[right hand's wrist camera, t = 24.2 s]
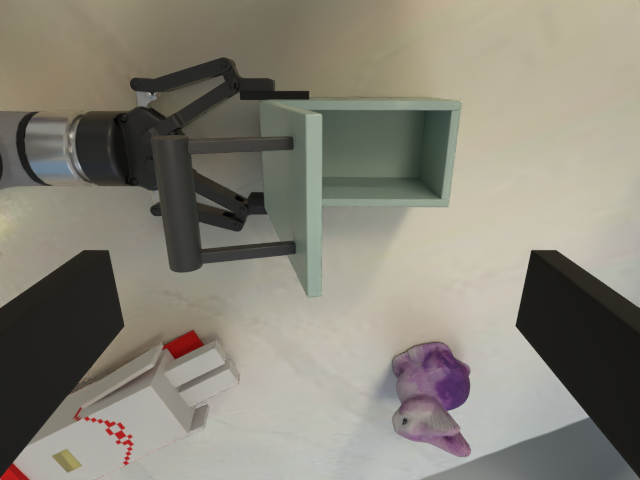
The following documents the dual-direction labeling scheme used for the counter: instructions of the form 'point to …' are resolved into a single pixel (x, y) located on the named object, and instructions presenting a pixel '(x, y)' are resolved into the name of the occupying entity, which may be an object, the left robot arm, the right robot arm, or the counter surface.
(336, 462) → the counter surface
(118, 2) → the counter surface
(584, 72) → the counter surface
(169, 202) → the lid
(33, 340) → the right robot arm
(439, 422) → the figurine
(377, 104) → the chest
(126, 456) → the toy
